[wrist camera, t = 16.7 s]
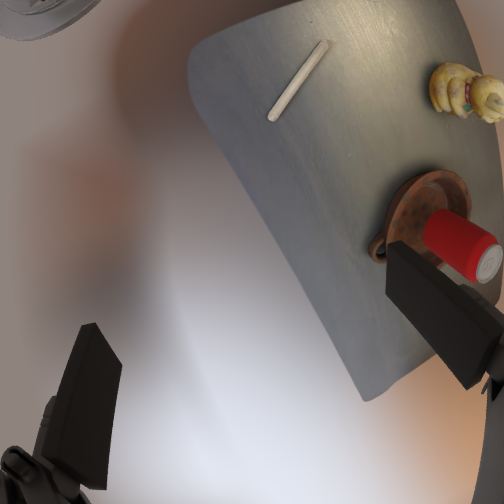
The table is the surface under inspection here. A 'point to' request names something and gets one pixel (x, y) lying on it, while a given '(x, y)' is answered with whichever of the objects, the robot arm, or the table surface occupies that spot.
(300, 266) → the table surface
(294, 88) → the wooden stick
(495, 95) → the decorative figurine
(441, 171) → the dish
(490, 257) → the beverage can
